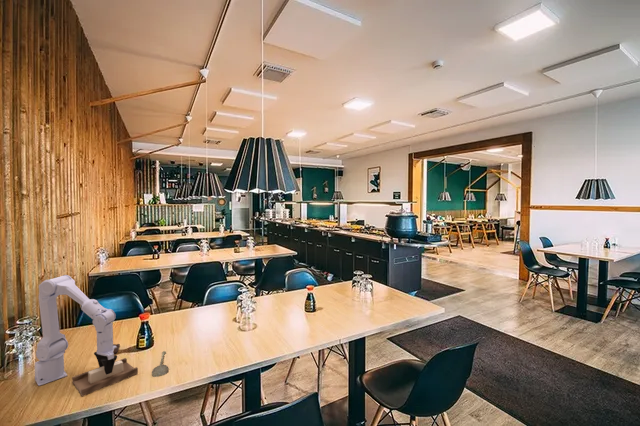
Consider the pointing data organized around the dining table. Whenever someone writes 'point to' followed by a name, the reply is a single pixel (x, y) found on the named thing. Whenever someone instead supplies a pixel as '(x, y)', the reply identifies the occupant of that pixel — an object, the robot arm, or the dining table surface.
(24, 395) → the dining table surface
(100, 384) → the tray
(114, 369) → the clay bar
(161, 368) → the soupspoon
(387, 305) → the dining table surface
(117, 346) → the ice cream bar
